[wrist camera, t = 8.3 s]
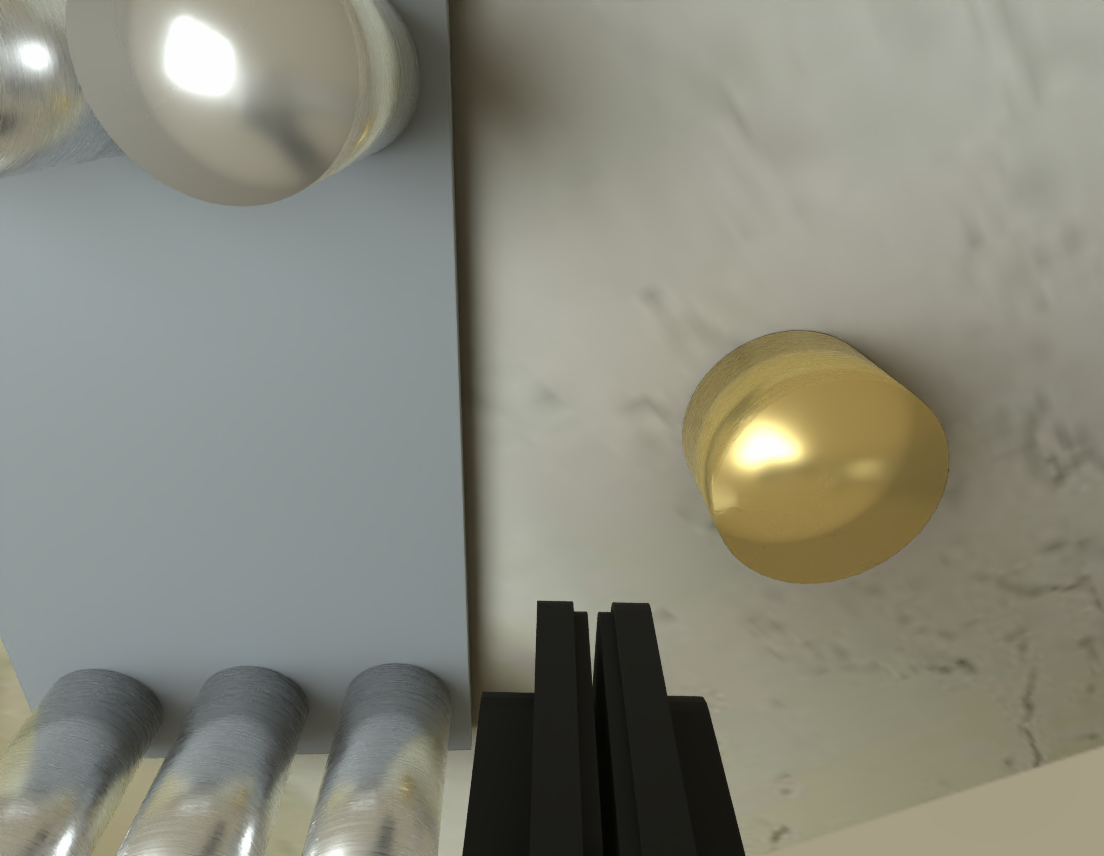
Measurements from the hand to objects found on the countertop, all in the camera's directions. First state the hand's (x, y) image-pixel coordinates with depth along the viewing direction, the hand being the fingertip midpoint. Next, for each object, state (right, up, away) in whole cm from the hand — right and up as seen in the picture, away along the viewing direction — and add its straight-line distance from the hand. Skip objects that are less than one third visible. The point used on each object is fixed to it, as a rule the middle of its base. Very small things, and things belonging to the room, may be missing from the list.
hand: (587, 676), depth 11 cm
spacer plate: (-9, +3, +6) cm, 11 cm away
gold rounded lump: (+5, +4, +7) cm, 9 cm away
